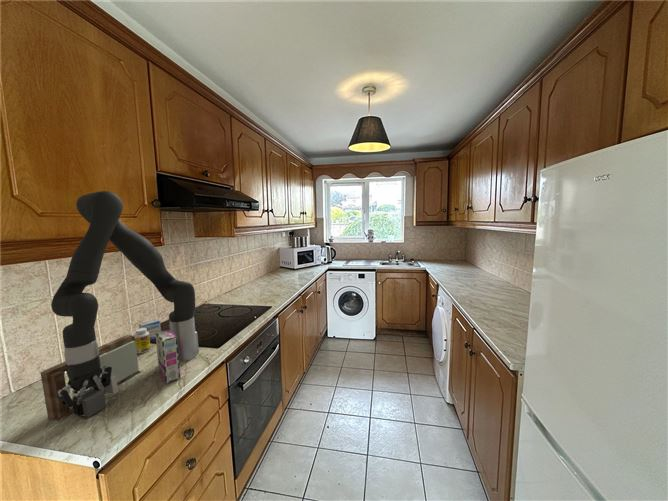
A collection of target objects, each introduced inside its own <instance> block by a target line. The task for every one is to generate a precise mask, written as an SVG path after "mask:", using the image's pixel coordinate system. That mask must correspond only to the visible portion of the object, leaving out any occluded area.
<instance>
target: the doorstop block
mask: <svg viewBox="0 0 668 501" xmlns="http://www.w3.org/2000/svg"><path fill="white" fill-rule="evenodd" d="M105 394H106V393H104V391H101V390H96V389H89V388H88V389H87V390H85V394H84V396H83V397H82V401H81V403H82V407H83V415H81V416H83V417H87V418H89V417H91V416H93V415H94V414H95V413H97V412H99V411H100V410H102V409H103V408H105V407H106V406H107V402H106V395H105Z"/></svg>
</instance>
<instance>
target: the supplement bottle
mask: <svg viewBox="0 0 668 501" xmlns="http://www.w3.org/2000/svg"><path fill="white" fill-rule="evenodd" d="M133 339H134V340H133V341H135V343H136V352H137V354H144V353H147V352H149V351H151V349H152V348H151V341H150V337H149V332H147V329H146V328H140V329H139V328H137V329H136V330H135V334H134V335H133Z"/></svg>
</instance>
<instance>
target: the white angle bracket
mask: <svg viewBox="0 0 668 501" xmlns="http://www.w3.org/2000/svg"><path fill="white" fill-rule="evenodd" d="M138 360H139V359H138V353H137V352H136V343H135V340H133V341H131V342H129V343H127V344H125V345H123V346H120V347H118V348H116V349H114V350H112V351H110V352H107V353H104V354H102V355H100V363H101V366H100V368H103V367H104V366H109V367H112V371H111V380H110V385H109V386H106V387H105V389H104V393H105V394H109V395H110V394H111V395H115V394H116V393H118V392H119V388H118V387H119V386H117V383H118V382H120V381H121V380H123V379H125V378H126V377H128V376H130V375H132V374H133V373H135V372H137V371H140V370H139V361H138ZM101 377H102V374H101V375H100V377H99V380H100V381H101ZM88 389H94V388H93V387H90V388H88Z"/></svg>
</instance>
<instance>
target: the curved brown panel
mask: <svg viewBox="0 0 668 501" xmlns="http://www.w3.org/2000/svg"><path fill="white" fill-rule="evenodd" d="M133 339H134V337H133V335H132V334H126V335H123V336H121V337H118V338H117V339H114V340H112V341H110V342H109V341H108V342H107V343H105V344H103V345H100V346H98V349H99V356H101V355H103V354H105V353H107V352H110V351H112V350H114V349H116V348H118V347H120V346H123V345H125V344H127V343H129V342H131V341H134V340H133ZM65 372H67V369H66V362H65V361H63V362H61V363H59V364H56V365H54V366H52V367H49V368H47V369H44V370H42V371H40V378H41V384H42V389H43V397H44V402H45V403H44V404H45V409H46V413H47V419H49V420H51V421H52V420H53V421H57V422H60V421H61V419H62V420H63V419H65V418H66V417H68V416H70V415H71V414H74V412H73V406H72V407H67V406H63V404H62V403H61V401H60V399H59V397H58V396H57V394H56V391H57V390H58V389H63V388H64V387H65V386H67V384H66V378H65ZM140 373H141V370H138V371H137V372H135V373H133V374H132V375H130V376H128V377H126V378H125V379H123V380H121V381H120V382H118V383H117V386H118V387H119V386H121V385H122V384H124V383H125V382H127V381H129V380H130V379H131V378H134V377H136V376H137V375H139V374H140Z"/></svg>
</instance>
